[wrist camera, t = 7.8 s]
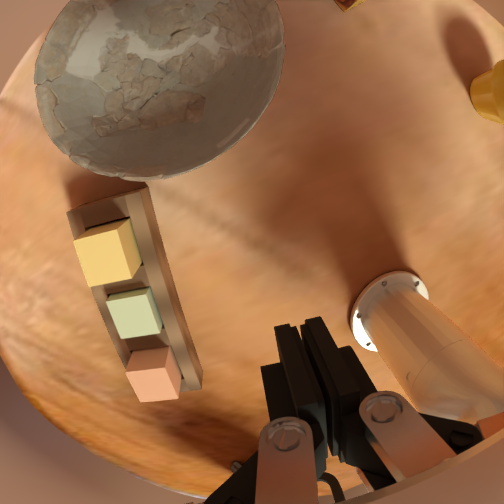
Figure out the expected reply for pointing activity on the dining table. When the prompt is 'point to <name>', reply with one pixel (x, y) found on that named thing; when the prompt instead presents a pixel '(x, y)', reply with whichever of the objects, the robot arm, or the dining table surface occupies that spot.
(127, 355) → the wooden tray
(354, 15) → the dining table surface
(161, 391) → the salmon pink cube
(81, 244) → the yellow cube
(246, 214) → the dining table surface
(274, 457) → the robot arm
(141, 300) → the pale green cube
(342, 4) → the candy box
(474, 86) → the plant pot
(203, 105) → the ceramic bowl
